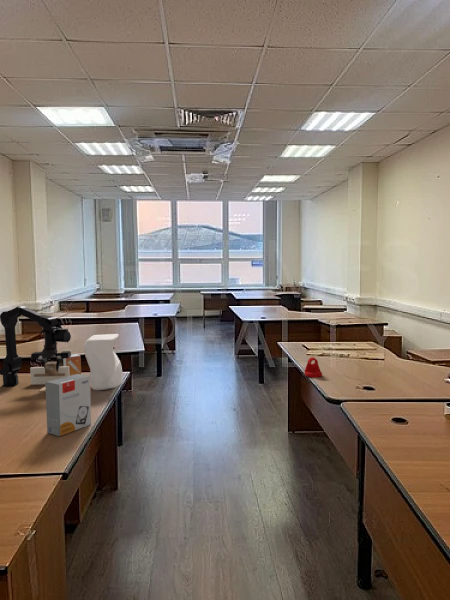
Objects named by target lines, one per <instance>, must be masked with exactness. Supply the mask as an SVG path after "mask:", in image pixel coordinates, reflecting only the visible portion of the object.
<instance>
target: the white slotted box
mask: <svg viewBox="0 0 450 600" xmlns="http://www.w3.org/2000/svg"><path fill="white" fill-rule="evenodd" d="M29 369H30V385H31V386H33V385H44V386H43V387H42V388H40V389H39V391H38V392H46V386H45V383H46V382H48V381H52V380H56V379H60V378H64V377H67V376H70V372H69V366H64V365H63V366H59V373H58V374H57V375H55V376H45V368H44V366H36V367H34V366H33V367H32V366H31V367H29Z"/></svg>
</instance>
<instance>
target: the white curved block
mask: <svg viewBox="0 0 450 600" xmlns="http://www.w3.org/2000/svg"><path fill="white" fill-rule="evenodd" d="M119 336H120V334H119V333H108V334H107V333H105V334H94V335H92V336H90V337H88V339H86V340H85V342H84V346H83V348H84V355H85V359H86V361H87V365H88V367H89V369H90V370H89V371H90V372H89V373H90V375H89V376H90V386H91V388H92V390H93V391H103V390H109V389H110V390H111V389H114V388H117V387H119V386H121V385H122V384H123V376H122V375H123V369H122V363H121V360H120V358H119V357H118V355H117V353H115V351H114V345H115V342H116V341H117V339H118V337H119Z"/></svg>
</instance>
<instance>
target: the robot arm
mask: <svg viewBox="0 0 450 600" xmlns="http://www.w3.org/2000/svg"><path fill="white" fill-rule="evenodd" d="M21 316H23V317H25V318H27V319H29V320H31V321H33V322H36V323H37V324H38V325H39V326H40V327H41V328H42V330H41V331H40V334H44V344H43V349H42V350H41V351H34V352H32V353H31V355H30V360H37V361H40V362H41V364H42V367H44V368H45V364H46V363H47V362H48V359H52V358H54V357H57V358H56V359H55V362H57V365H56V370H57V371H58V369H59V367H61V363H62V361H63V359H64V358H69V357H70V356H71V355H72V352H71V351H70V350H62V351H61V352H58V343H69V342H70V341H71V338H72V335H71V332H70V331H69V329H68V328H63V327H62V326H61V324H60V323H59V321H58V318H57V317H55V316H52V315H46V314H42V313H40V312H37V311H35V310H33V309H31V308H30V307H29V308H28V307H27V306H25V305H18V306H16V307H14V308H12V309H9V310H6V311H2V312H1V313H0V323H1V325H2V326H3V328H4V338H5V339H4V340H5V350H6V354H5V355H6V356H5V357H4V359H3V366H2V368H1V369H0V376H2V385H1V387H15V386H16V385H18V384H19V383H20V382H19V375H18V373H19V372H20V369H21V368H22V365H23V363H22V361H23V360H22V356H19V355H18V352H17V351H18V350H17V338H16V326H17V323H18V321H19V317H21Z"/></svg>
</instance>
